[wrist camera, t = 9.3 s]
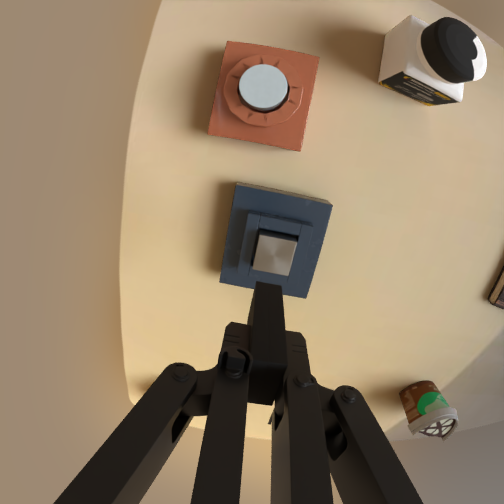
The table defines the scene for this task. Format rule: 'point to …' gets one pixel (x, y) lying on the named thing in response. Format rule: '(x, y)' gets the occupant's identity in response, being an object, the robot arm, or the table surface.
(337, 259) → the table surface
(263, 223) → the push button base
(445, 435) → the food container
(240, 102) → the orange button base
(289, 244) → the pump square
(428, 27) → the medicine bottle
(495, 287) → the hardcover book
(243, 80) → the white round push button
